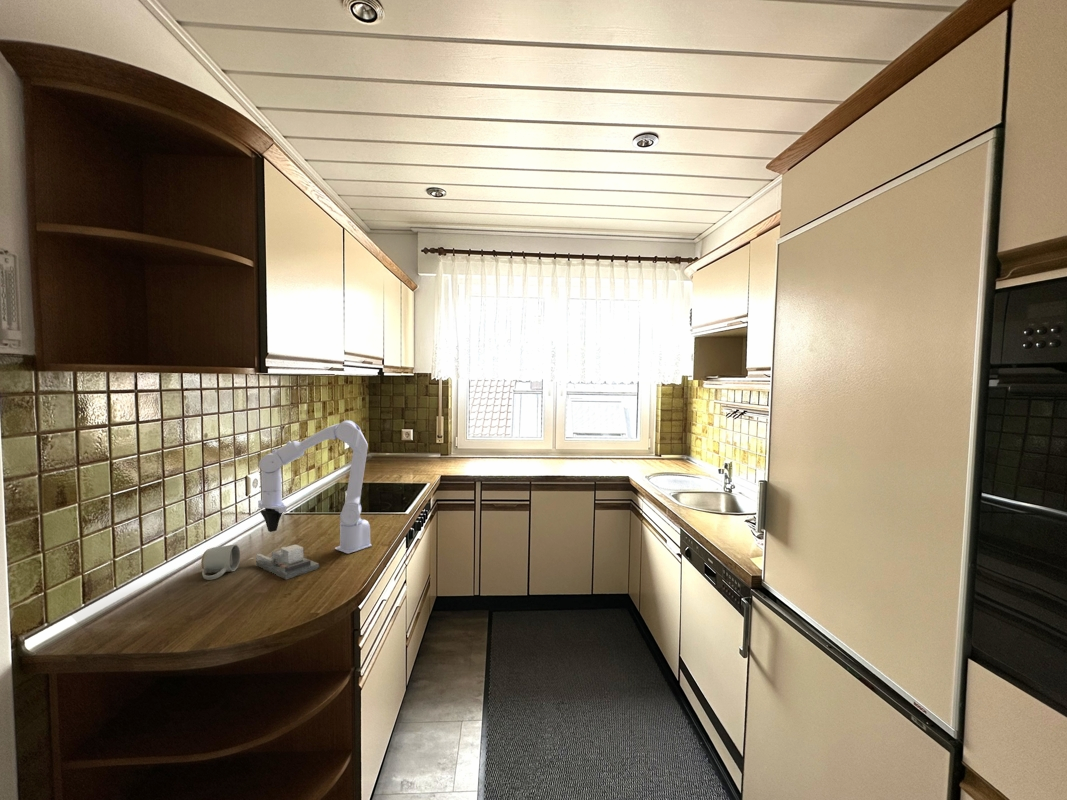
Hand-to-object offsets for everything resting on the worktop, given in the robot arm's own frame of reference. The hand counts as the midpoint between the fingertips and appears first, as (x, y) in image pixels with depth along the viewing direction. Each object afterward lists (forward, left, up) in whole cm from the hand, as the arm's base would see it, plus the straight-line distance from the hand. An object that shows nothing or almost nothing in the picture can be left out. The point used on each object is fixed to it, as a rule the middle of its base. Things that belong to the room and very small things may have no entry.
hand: (272, 530), depth 153 cm
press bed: (+2, +13, -8) cm, 16 cm away
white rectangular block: (+2, +16, -7) cm, 17 cm away
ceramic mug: (+16, +1, -9) cm, 18 cm away
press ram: (+2, +12, -7) cm, 13 cm away
